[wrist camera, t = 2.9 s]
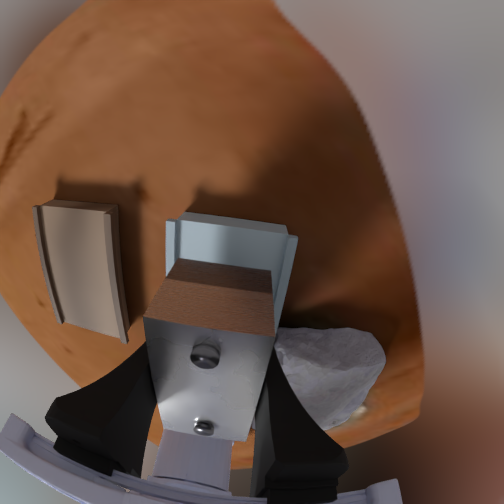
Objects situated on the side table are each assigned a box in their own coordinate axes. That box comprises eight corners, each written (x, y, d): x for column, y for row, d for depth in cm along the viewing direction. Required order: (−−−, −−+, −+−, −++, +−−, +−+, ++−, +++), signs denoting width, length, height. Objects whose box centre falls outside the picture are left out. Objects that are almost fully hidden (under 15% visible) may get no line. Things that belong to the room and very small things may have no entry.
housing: (249, 379, 16) (245, 446, 11) (180, 369, 16) (162, 432, 11) (271, 270, 13) (275, 343, 8) (178, 257, 13) (139, 321, 8)
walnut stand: (124, 205, 16) (110, 214, 14) (135, 328, 20) (127, 344, 18) (48, 199, 15) (32, 206, 14) (68, 310, 20) (57, 322, 18)
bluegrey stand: (294, 226, 16) (298, 238, 14) (266, 350, 20) (266, 368, 18) (176, 210, 16) (166, 220, 14) (176, 337, 20) (170, 354, 18)
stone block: (377, 313, 21) (262, 320, 19) (405, 352, 17) (277, 373, 15) (333, 393, 26) (243, 404, 24) (348, 428, 22) (251, 445, 20)
